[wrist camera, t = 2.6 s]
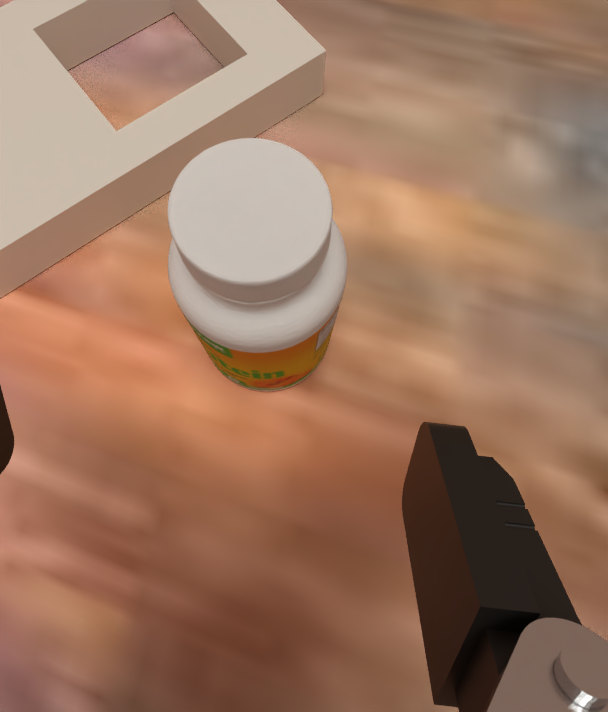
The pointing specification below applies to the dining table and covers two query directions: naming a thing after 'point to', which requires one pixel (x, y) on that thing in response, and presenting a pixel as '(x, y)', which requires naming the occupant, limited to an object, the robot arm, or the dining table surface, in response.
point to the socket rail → (139, 138)
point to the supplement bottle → (256, 260)
